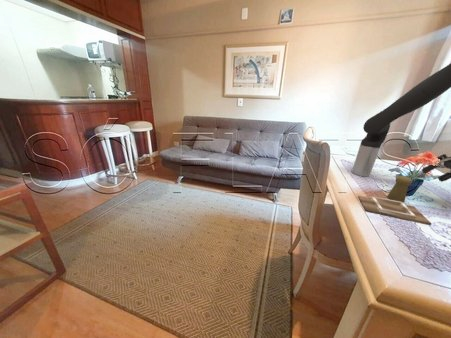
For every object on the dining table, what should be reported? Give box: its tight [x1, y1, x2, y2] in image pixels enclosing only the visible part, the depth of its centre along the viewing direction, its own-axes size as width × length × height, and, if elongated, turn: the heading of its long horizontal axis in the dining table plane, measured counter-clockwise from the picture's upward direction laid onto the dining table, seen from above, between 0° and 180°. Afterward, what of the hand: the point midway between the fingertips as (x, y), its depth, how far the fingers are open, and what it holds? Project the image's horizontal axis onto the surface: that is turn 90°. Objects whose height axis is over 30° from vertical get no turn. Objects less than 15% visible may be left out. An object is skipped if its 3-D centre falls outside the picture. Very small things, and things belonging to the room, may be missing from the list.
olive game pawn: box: [386, 175, 413, 204], centre depth 82 cm, size 6×6×11 cm
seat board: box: [357, 195, 432, 226], centre depth 75 cm, size 12×20×2 cm, turn 68°
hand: (430, 175), depth 78 cm, fingers open, 8 cm apart
